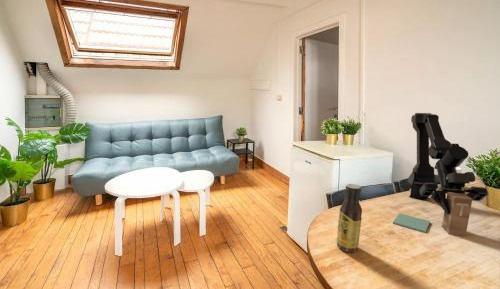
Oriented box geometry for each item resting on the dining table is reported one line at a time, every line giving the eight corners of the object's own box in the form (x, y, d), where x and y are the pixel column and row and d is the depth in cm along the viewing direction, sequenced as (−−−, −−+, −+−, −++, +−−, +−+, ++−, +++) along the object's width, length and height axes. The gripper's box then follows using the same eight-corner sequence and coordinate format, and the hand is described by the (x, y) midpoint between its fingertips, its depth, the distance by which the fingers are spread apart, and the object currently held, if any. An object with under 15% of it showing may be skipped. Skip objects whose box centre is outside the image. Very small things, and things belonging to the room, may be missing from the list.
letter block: (441, 226, 93) (447, 191, 91) (458, 228, 92) (464, 193, 90) (448, 233, 88) (454, 197, 86) (465, 236, 87) (472, 199, 85)
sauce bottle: (333, 242, 82) (337, 181, 79) (352, 241, 83) (357, 181, 79) (342, 254, 76) (347, 189, 72) (362, 253, 76) (368, 188, 73)
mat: (392, 223, 95) (392, 221, 95) (399, 214, 103) (399, 213, 103) (425, 232, 89) (425, 231, 89) (429, 222, 96) (430, 221, 96)
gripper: (426, 160, 92) (435, 202, 84) (490, 164, 87) (506, 208, 79) (416, 176, 101) (423, 214, 92) (473, 180, 96) (486, 221, 88)
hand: (458, 214), depth 88 cm, fingers closed on letter block, 5 cm apart
